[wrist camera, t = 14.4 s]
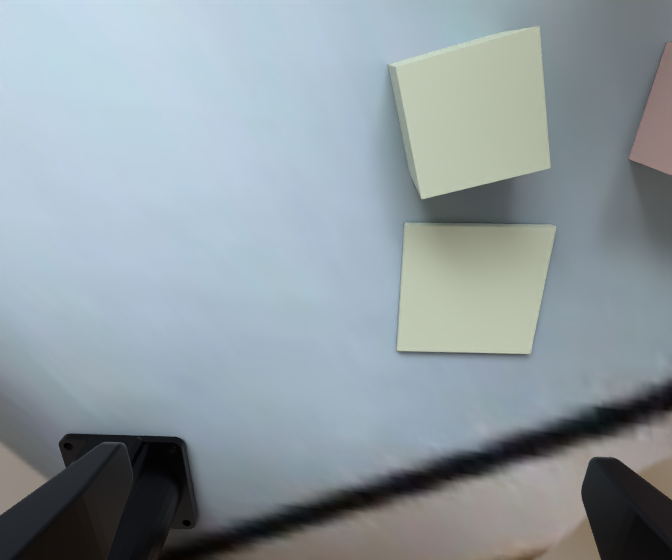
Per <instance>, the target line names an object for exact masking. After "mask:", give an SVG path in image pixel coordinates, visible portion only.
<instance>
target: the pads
mask: <svg viewBox="0 0 672 560" xmlns="http://www.w3.org/2000/svg"><path fill="white" fill-rule="evenodd" d="M555 232H556V227H555V226H554V225H553V224H481V223H404V235H403V251H402V267H401V282H400V298H399V314H398V330H397V345H396V346H397V351H424V352H468V353H511V354H530V353H531V348H532V343H533V339H534V334H535V329H536V324H537V319H538V314H539V310H540V305H541V300H542V295H543V290H544V285H545V280H546V276H547V271H548V266H549V261H550V256H551V251H552V246H553V242H554V237H555Z"/></svg>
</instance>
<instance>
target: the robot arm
mask: <svg viewBox="0 0 672 560" xmlns="http://www.w3.org/2000/svg"><path fill="white" fill-rule="evenodd" d="M172 446H174V447H176V448H174V447H172ZM59 448H60V451H61V454H62V457H63V460H64V463H65V466H66V469H64V470H63V471H61V472H60V473H59V474H57V475H56V476H55V477H53V478H52V479H50V480H49V481H48V482H46V483H45V484H43V485H42V486H41V487H39V488H38V489H36V490H35V491H34V492H33V493H31V494H30V495H28V496H27V497H25V498H24V499H22V500H21V501H20V502H18V503H17V504H16V505H14V506H13V507H12V508H10V509H9V510H7V511H6V512H4V513H3V514H2V515H0V560H158V558H159V555H160V553H161V550H162V548H163V545H164V543H165V540H166V537H167V535H168V532H169V530H170V528H173V529H191V528H194V526H195V524H196V522H197V512H196V506H195V500H194V495H193V489H192V484H191V478H190V472H189V467H188V461H187V455H186V450H185V444H184V442H183V441H182V440H181V439H180V438H178V437H164V436H130V435H97V434H66V435H65V436H64V437H63V438H62V439H61V441H60V442H59ZM581 495H582V500H583V504H584V507H585V510H586V513H587V517H588V520H589V523H590V526H591V529H592V533H593V536H594V539H595V542H596V545H597V548H598V552H599V555H600V558H601V560H672V500H671V499H670V498H668V497H667V496H666V495H664V494H663V493H662V492H660V491H659V490H658V489H656V488H655V487H654V486H652V485H651V484H650V483H649V482H647V481H646V480H645V479H643V478H642V477H641V476H639V475H638V474H637V473H635V472H634V471H633V470H631V469H630V468H629V467H627V466H626V465H625V464H623V463H622V462H621V461H619V460H618V459H616V458H612V457H593V458H592V459H591V460H590V462H589V464H588V468H587V471H586V474H585V478H584V481H583V484H582V489H581Z"/></svg>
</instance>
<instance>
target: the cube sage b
mask: <svg viewBox="0 0 672 560" xmlns="http://www.w3.org/2000/svg"><path fill="white" fill-rule="evenodd" d="M388 68H389V73H390V78H391V83H392V88H393V93H394V98H395V103H396V108H397V113H398V118H399V123H400V128H401V133H402V138H403V143H404V148H405V153H406V158H407V163H408V168H409V172H410V175H411V177H412V179H413V181H414V184H415V186H416V188H417V190H418V193H419V195H420V197H421V199H426V198H430V197H434V196H438V195H442V194H446V193H450V192H455V191H459V190H463V189H467V188H471V187H475V186H479V185H483V184H488V183H492V182H496V181H500V180H504V179H508V178H512V177H517V176H521V175H525V174H529V173H533V172H537V171H541V170H546V169H550V155H549V142H548V129H547V116H546V103H545V90H544V77H543V64H542V51H541V38H540V26H537V27H531V28H524V29H518V30H511V31H505V32H500V33H496V34H493V35H489V36H486V37H482V38H479V39H475V40H472V41H468V42H465V43H461V44H458V45H454V46H451V47H447V48H444V49H440V50H437V51H433V52H430V53H426V54H423V55H419V56H416V57H412V58H409V59H405V60H401V61H398V62H394V63H391V64H388Z"/></svg>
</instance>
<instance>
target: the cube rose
mask: <svg viewBox="0 0 672 560" xmlns="http://www.w3.org/2000/svg"><path fill="white" fill-rule="evenodd" d="M629 159H630V160H633V161H635V162H638V163H641V164H643V165H646V166H648V167H651V168H653V169H656V170H659V171H661V172H664V173H666V174H669V175H671V176H672V42H667V43H666V46H665V49H664V52H663V55H662V58H661V61H660V64H659V67H658V70H657V73H656V76H655V79H654V82H653V85H652V88H651V92H650V95H649V98H648V101H647V104H646V107H645V110H644V113H643V116H642V119H641V122H640V125H639V128H638V131H637V134H636V138H635V141H634V144H633V147H632V150H631V153H630V156H629Z"/></svg>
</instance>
